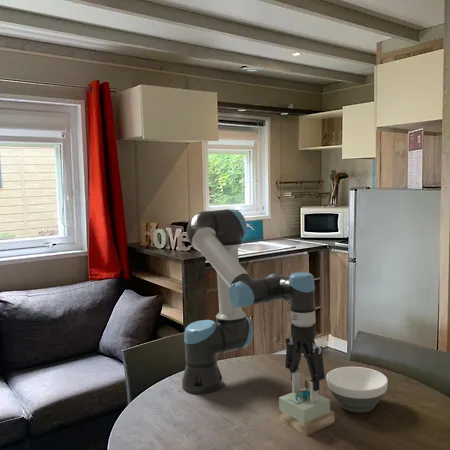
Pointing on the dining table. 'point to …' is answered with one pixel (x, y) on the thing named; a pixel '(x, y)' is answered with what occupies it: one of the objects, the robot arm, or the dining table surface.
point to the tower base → (308, 426)
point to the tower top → (304, 407)
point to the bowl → (357, 387)
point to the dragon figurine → (303, 393)
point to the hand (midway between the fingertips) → (305, 395)
